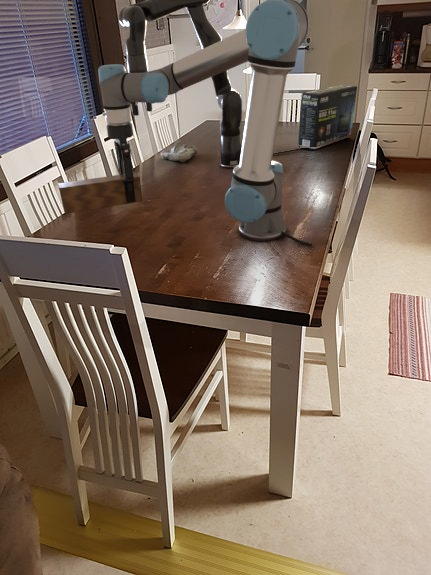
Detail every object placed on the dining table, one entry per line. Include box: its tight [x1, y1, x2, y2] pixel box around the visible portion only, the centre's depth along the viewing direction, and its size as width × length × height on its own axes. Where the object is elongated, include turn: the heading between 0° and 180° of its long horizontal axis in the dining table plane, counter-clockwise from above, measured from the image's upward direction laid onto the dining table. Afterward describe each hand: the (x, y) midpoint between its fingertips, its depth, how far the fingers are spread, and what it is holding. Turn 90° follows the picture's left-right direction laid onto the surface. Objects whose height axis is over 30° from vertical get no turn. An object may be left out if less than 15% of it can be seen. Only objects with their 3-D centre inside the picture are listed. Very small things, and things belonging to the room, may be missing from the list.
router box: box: [297, 84, 358, 151], centre depth 238 cm, size 36×11×27 cm, turn 134°
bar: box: [57, 172, 144, 215], centre depth 142 cm, size 24×5×8 cm, turn 110°
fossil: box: [160, 142, 199, 163], centre depth 229 cm, size 18×11×15 cm
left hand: (142, 113), depth 181 cm, fingers open, 8 cm apart
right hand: (129, 198), depth 146 cm, fingers closed on bar, 5 cm apart
